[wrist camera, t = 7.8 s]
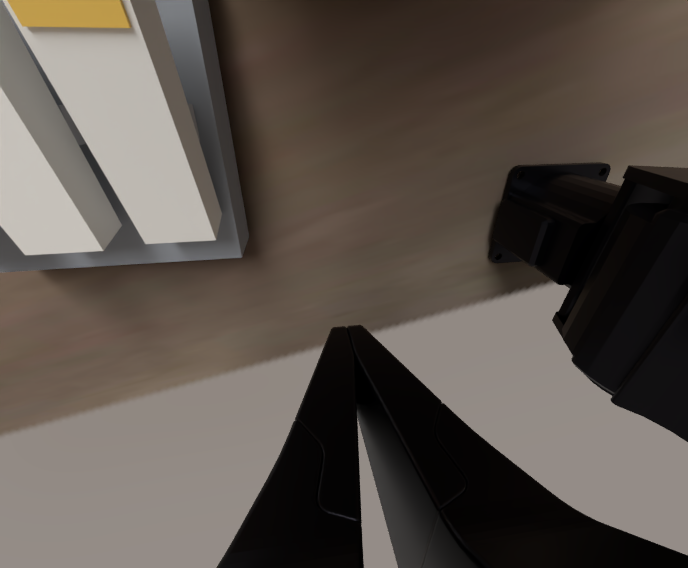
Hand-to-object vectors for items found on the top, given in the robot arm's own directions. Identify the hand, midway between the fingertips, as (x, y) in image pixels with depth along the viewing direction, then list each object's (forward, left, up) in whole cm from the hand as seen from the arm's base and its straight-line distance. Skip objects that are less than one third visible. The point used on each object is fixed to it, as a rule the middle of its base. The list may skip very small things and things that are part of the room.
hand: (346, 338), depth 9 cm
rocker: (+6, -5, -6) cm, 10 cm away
